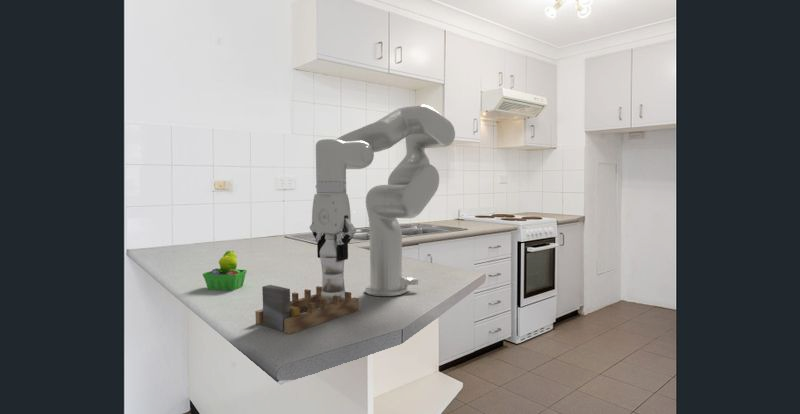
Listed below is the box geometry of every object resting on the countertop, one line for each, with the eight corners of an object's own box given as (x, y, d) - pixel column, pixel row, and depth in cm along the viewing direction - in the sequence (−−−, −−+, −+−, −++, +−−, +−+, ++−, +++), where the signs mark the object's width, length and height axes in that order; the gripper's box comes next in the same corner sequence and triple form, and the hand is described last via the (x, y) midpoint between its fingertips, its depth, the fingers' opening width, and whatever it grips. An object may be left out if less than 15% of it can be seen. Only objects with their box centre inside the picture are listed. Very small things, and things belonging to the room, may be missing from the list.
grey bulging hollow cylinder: (342, 313, 109) (340, 233, 108) (316, 311, 110) (315, 232, 109) (350, 305, 115) (349, 230, 114) (325, 304, 117) (324, 229, 116)
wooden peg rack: (325, 302, 119) (325, 269, 118) (358, 309, 112) (358, 274, 111) (255, 323, 101) (254, 285, 101) (289, 334, 94) (288, 292, 94)
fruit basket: (201, 290, 134) (200, 253, 133) (218, 283, 143) (217, 249, 142) (235, 291, 132) (234, 254, 131) (250, 284, 141) (249, 250, 140)
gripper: (297, 188, 113) (298, 257, 114) (345, 189, 103) (346, 264, 104) (319, 188, 119) (320, 253, 120) (366, 188, 109) (367, 259, 110)
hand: (332, 257), depth 112 cm, fingers closed on grey bulging hollow cylinder, 6 cm apart
